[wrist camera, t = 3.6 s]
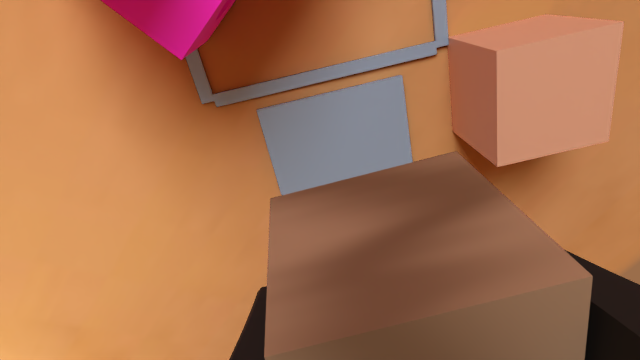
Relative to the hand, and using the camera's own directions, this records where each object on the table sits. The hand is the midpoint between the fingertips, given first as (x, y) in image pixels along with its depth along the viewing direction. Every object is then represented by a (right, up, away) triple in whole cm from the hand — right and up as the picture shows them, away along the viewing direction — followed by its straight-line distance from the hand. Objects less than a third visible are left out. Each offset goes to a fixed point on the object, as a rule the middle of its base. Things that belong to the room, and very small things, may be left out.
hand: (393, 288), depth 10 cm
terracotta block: (+6, +7, +7) cm, 11 cm away
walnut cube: (0, +1, +2) cm, 2 cm away
